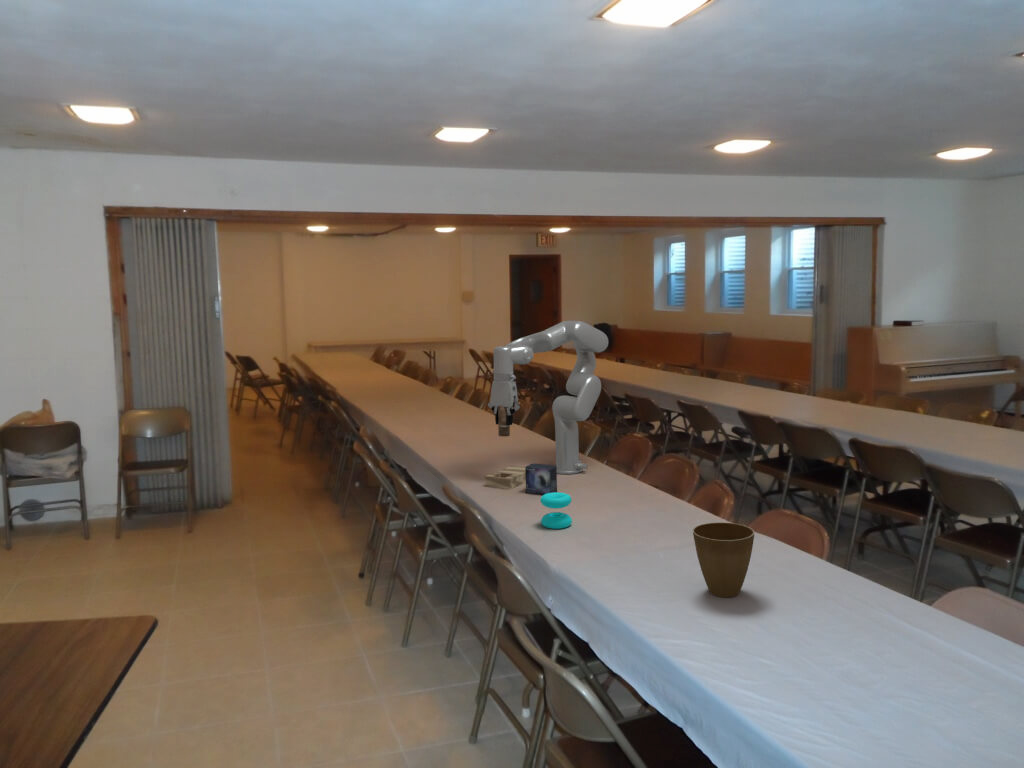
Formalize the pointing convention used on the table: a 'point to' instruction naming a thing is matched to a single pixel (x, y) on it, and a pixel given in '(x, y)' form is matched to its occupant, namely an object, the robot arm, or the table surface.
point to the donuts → (556, 518)
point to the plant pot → (724, 555)
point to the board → (506, 478)
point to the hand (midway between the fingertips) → (504, 424)
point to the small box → (541, 479)
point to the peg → (503, 422)
